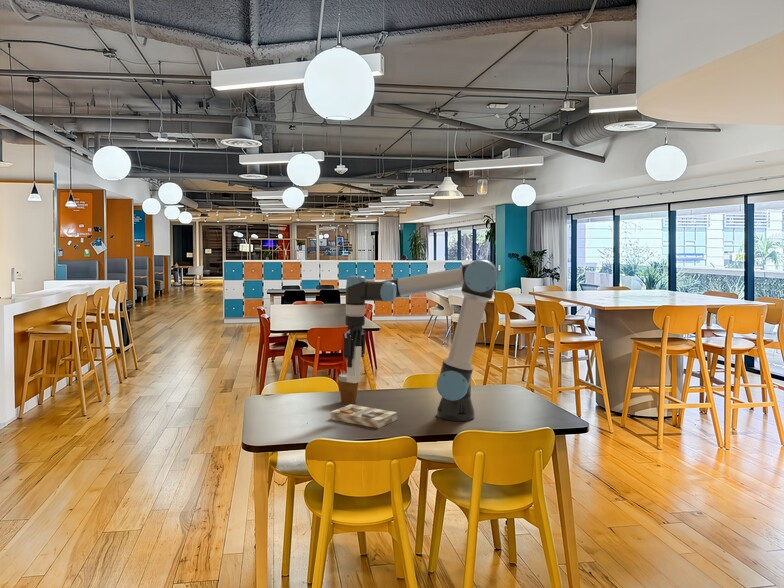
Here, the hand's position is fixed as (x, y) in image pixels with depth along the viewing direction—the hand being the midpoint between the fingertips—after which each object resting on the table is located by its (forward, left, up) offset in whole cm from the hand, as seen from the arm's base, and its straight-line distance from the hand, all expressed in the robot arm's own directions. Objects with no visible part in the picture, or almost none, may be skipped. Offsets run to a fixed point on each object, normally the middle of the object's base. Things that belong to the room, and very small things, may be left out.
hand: (354, 374), depth 244 cm
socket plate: (-5, 0, -17) cm, 18 cm away
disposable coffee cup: (+15, -19, -18) cm, 30 cm away
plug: (0, 0, -3) cm, 3 cm away
